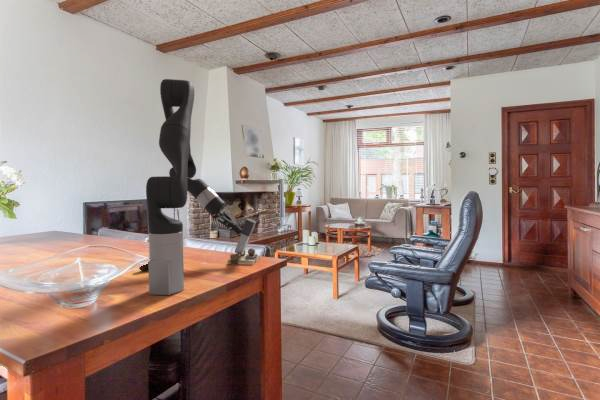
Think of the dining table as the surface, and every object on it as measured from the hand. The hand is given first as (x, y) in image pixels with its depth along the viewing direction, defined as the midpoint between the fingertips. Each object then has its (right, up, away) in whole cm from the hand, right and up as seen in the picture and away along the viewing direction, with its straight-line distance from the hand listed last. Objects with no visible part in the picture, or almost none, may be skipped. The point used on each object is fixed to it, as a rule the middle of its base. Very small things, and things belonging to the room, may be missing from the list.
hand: (240, 233), depth 136 cm
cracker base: (+1, -11, +1) cm, 11 cm away
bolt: (-28, -12, -9) cm, 32 cm away
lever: (-1, -9, +1) cm, 9 cm away
